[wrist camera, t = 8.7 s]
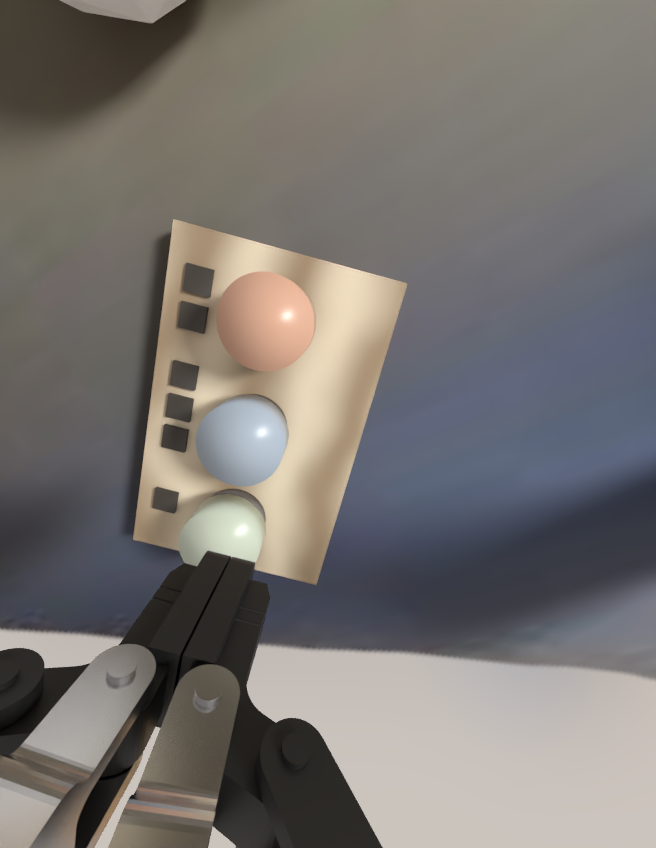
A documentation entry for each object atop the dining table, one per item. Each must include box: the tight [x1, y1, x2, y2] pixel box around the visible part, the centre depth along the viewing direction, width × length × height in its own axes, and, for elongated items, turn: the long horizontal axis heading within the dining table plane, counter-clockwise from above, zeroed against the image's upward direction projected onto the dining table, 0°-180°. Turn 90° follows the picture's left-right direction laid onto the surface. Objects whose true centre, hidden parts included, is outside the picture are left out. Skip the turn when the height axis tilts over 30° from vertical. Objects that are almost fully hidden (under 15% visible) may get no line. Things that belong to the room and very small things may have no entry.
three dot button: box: [196, 394, 289, 486], centre depth 23 cm, size 5×5×2 cm
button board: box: [133, 219, 407, 585], centre depth 26 cm, size 14×22×3 cm, turn 165°
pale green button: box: [178, 494, 266, 566], centre depth 25 cm, size 5×5×2 cm
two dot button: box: [216, 271, 316, 372], centre depth 21 cm, size 5×5×2 cm
